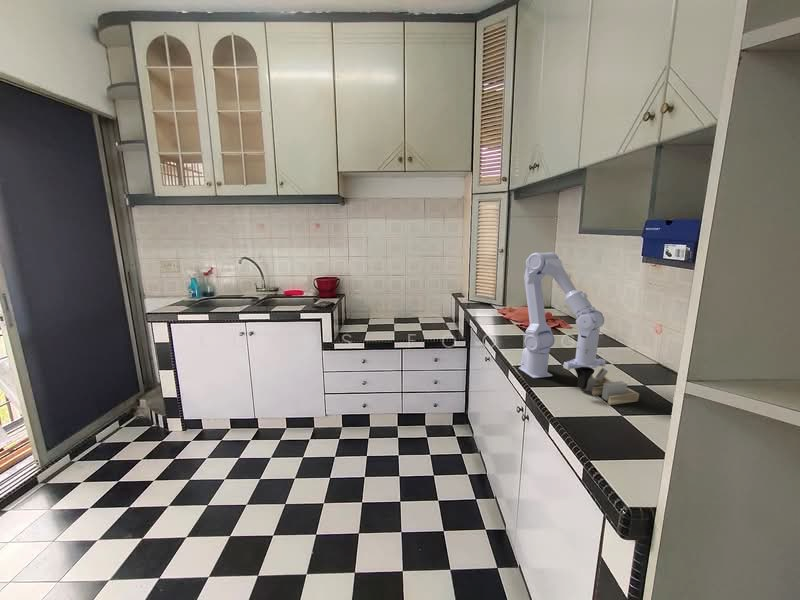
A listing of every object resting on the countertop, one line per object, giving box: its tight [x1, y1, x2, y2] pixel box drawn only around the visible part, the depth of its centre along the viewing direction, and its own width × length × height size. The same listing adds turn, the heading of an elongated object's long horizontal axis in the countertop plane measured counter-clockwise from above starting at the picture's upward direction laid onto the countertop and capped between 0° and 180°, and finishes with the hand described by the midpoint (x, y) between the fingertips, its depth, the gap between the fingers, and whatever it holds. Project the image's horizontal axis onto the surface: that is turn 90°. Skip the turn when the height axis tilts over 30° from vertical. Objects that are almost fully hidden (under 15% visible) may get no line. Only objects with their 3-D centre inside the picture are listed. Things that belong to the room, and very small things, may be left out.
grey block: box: [601, 380, 628, 402], centre depth 109 cm, size 2×7×5 cm, turn 105°
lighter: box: [579, 367, 609, 392], centre depth 114 cm, size 7×2×8 cm, turn 79°
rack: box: [591, 375, 640, 406], centre depth 112 cm, size 13×11×2 cm
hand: (581, 388), depth 113 cm, fingers closed, pressing on lighter
